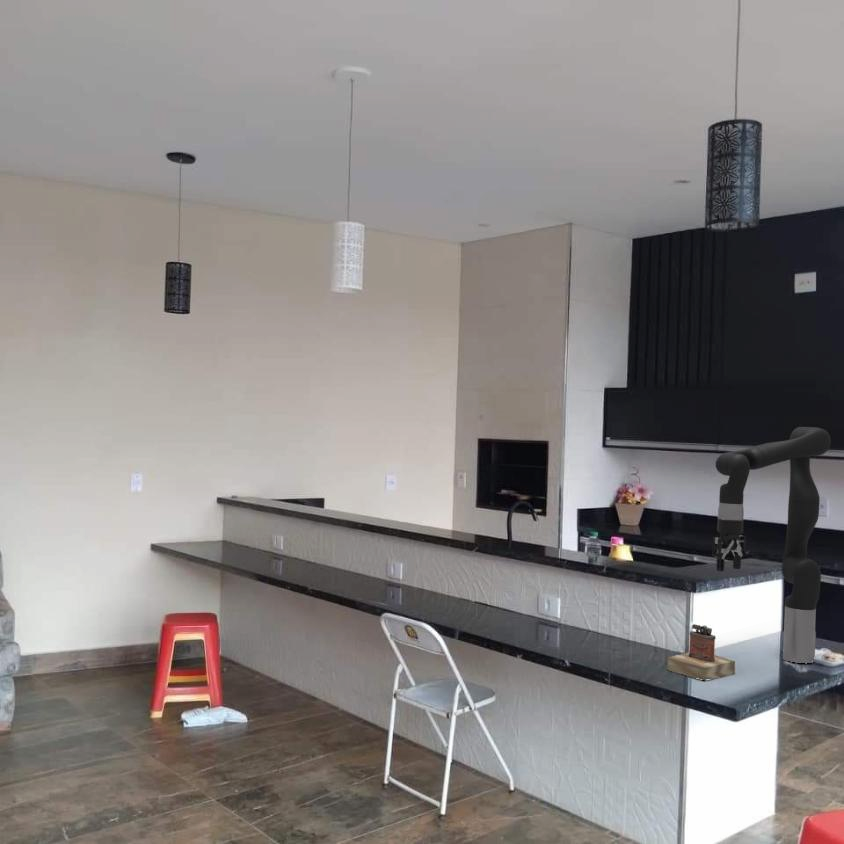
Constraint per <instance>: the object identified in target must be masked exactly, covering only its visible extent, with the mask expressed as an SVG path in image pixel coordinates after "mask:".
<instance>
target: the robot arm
mask: <svg viewBox="0 0 844 844" xmlns="http://www.w3.org/2000/svg"><path fill="white" fill-rule="evenodd" d="M831 441H832V440H831V436H830V434H829V432H828V431H827V430H826V429H824V428H820V427H816V426H815V427H813V426H799V427H798V426H797V427H796V428H795V429H794V430H793V431H792V432H791V433H790V437H789V439H787V440H781V441H780V440H779V441H773V442H772V441H771V442H767V443H762V444H758V445H756V446H752V447H749V448H745V449H740V450H738V449H737V450H732V451H728V452H724V453H722V454H720V455H719V456H718V457H717V458H716V460H715V468H716V471H717V472H719V474H721V475H724V476H727V477H729V478H728V480H727V482H726V483H723V484H721V485H720V487H719V495H718V496H719V499H718V500H719V501H718V502H719V503H718V509H717V526H716V527H717V529H716V530H717V532H718V533H719V534H720V535H719V537H715V536H714V537H713V538H712V547H711V549H712V550H711V556H712V557H714V558H715V559H716V571H718V572H724V571H725V561H726V560H725V557H726V556H727V554H729V552H732V554H733V557H732V558H733V559H732V568H733V569H734V570H741V565H742V557H743V555H744V556H745V555H746V553H747V537H746V535H742V534H743V533H744V516H745V515H744V512H745V511H744V491H745V488H746V485H747V481H748V478H749V475H750V471H753V470H760V469H763V468H767V467H768V466H772V465H776V464H779V463H783V462H786V461H789V466H790V467H789V469H790V471H789V472H790V473H789V492H788V493H789V494H788V504H787V505H788V507H787V526H786V540H785V546H784V551H783V558H782V564H781V573H782V576H783V578H784V581H786V582H787V583H790V584H791V585H792V591H791V594H790V595H788V596H786V597H785V600H784V618H783V619H784V621H783V622H784V623H783V624H784V625H783V628H784V629H783V643H782V645H783V646H782V659H783V660H784V661H786V662H788V661H790V662H789V663H792V662H795V663H794V664H797V663H805V664H804V665H808V664H807V663H811V662H812V661H813V660H814V657H815V658H816V638H817V637H816V636H817V632H816V619H817V618H816V613H817V612H816V611H817V604H818V601H819V599H820V593H821V582H822V581H821V580H822V576H821V575H822V573H821V568H820V566H819V564H818V563H817V562H816V561H815V560H812V559H810V558H808V557H807V555H808V543H809V540H810V536H811V535H812V533H813V531H814V529H815V527H816V526H817V523H818V520H819V516H820V502H821V501H820V500H821V499H820V495H819V491H818V489H817V485H816V484H815V481H814V479H813V476H812V473H811V465H810V464H811V457H818V456H822V455H824V454H825V453H826V452H828V450H829V449H830V446H831V443H832V442H831Z"/></svg>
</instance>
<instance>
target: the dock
mask: <svg viewBox="0 0 844 844" xmlns="http://www.w3.org/2000/svg"><path fill="white" fill-rule="evenodd" d="M714 658H715V661H714V662H708V661H703V660H698V659H694V658H691V657H689V652H686V653H681V654H677V655H672V656H668V657H667V671H668V670H669V671H668V672H671V671H672V672H671V673H675V674H678V673H679V674H678V675H681V674H683V675H682V676H685V675H686V677H688V676H690V677H689V678H691V677H694V678H699V679H702V680H706V679H713V680H715V679H714V678H717V679H719V678H718V677H721V678H725V677H728V675H729V676H733V675H735V674H736V660H733V659H731V658H730V659H729V658H725V657H723V656H720V655H719V656H718V655H715V654H714ZM732 674H733V675H732ZM724 676H725V677H724ZM694 678H693V679H694Z"/></svg>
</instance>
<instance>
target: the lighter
mask: <svg viewBox="0 0 844 844" xmlns="http://www.w3.org/2000/svg"><path fill="white" fill-rule="evenodd" d="M691 629H692V630H693V631H692V630H691V631H689V650H688V651H689V652H688V653H689V657H691V658H694V659H698V660H703V661H708V662H714V661H715V658H714V655H715V647H716V644H715V643H716V639H717V638H716V636H715V634H714V635H713V634H712V632H713V628H711V627H708V626H707V625H700V624H694V623H693V624H691Z"/></svg>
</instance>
